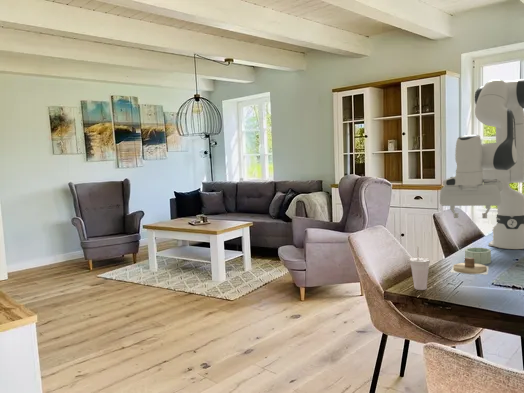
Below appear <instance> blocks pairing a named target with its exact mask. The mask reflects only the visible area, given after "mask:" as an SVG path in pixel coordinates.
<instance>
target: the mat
mask: <svg viewBox="0 0 524 393" xmlns="http://www.w3.org/2000/svg"><path fill="white" fill-rule="evenodd" d="M455 264H456V263H455ZM455 264H452V267H451V269H450V273H452V274H453V273H455V274H464V273H463V272H458V271H455V270H454V269H453V266H454V265H455ZM485 266H486V267H487V270H486V271H485V272H482V273H466V274H469V275H471V274H472V275H484V276H487V275H488V274H489V268H490V266H489V265H485Z"/></svg>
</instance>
